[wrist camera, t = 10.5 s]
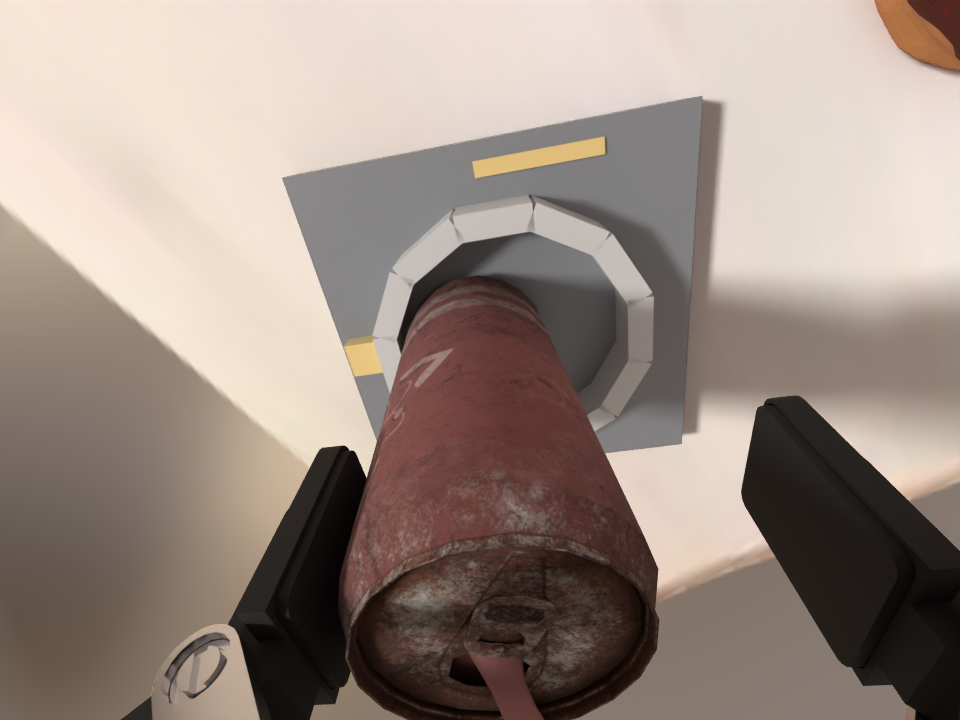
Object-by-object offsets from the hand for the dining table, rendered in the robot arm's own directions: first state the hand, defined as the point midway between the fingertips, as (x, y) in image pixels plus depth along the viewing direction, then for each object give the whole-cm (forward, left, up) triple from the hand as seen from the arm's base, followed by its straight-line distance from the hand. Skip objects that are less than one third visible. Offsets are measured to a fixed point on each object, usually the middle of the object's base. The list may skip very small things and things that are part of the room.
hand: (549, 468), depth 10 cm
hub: (+1, +1, -12) cm, 12 cm away
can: (+2, +1, -10) cm, 11 cm away
